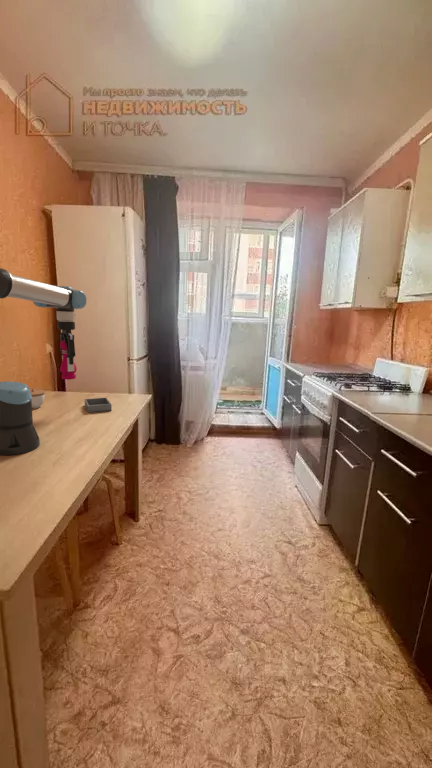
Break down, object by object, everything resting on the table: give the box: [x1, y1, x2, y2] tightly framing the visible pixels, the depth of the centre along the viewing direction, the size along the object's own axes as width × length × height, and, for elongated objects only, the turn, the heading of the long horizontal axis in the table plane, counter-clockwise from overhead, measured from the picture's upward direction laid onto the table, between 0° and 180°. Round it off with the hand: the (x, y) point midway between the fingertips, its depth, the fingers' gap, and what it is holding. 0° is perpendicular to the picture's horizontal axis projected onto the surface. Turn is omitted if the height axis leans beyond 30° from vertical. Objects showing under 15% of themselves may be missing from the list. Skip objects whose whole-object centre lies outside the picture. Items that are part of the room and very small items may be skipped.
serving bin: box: [84, 397, 113, 414], centre depth 176 cm, size 14×11×4 cm
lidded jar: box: [30, 388, 46, 410], centre depth 173 cm, size 11×11×9 cm
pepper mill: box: [59, 340, 78, 381], centre depth 162 cm, size 7×7×20 cm
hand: (68, 369), depth 163 cm, fingers closed on pepper mill, 7 cm apart
